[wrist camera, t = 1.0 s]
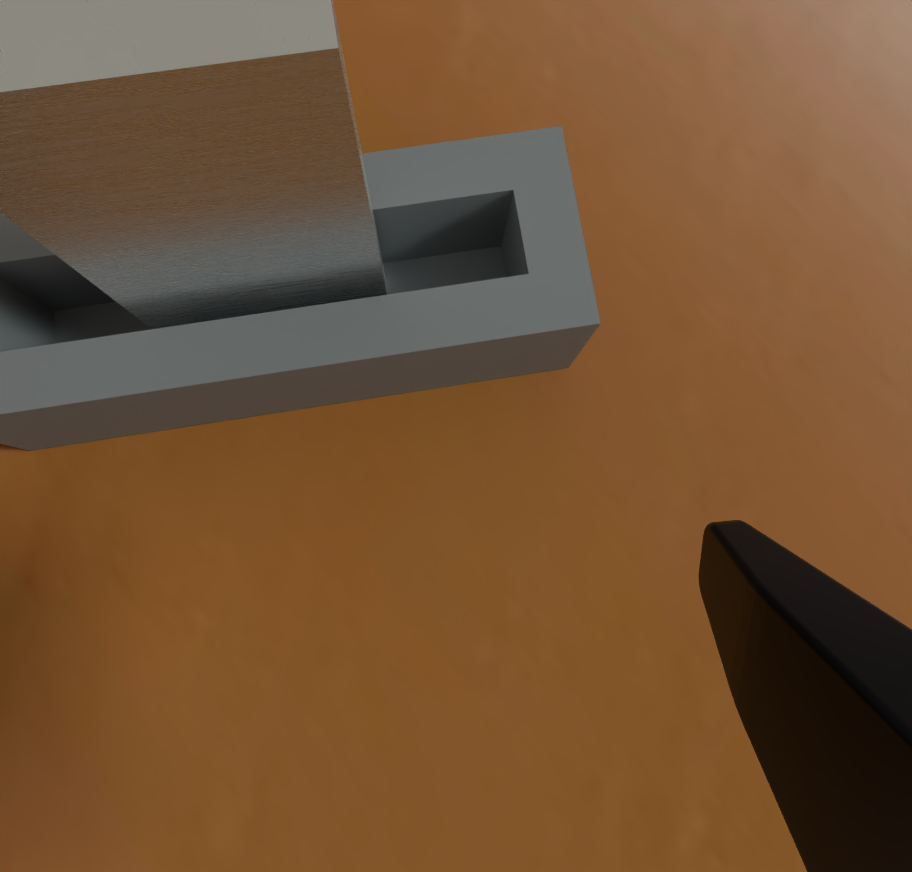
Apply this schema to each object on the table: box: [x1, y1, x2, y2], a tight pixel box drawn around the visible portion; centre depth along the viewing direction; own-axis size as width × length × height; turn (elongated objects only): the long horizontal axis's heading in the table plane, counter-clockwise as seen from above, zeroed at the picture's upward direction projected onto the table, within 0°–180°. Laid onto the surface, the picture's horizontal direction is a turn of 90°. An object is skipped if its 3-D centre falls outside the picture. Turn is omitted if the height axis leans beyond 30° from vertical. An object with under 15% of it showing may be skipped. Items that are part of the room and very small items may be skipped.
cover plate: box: [0, 0, 388, 329], centre depth 16 cm, size 1×6×12 cm, turn 99°
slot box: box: [0, 126, 600, 451], centre depth 20 cm, size 5×16×4 cm, turn 99°
